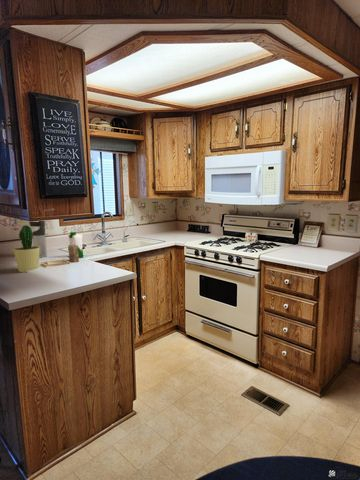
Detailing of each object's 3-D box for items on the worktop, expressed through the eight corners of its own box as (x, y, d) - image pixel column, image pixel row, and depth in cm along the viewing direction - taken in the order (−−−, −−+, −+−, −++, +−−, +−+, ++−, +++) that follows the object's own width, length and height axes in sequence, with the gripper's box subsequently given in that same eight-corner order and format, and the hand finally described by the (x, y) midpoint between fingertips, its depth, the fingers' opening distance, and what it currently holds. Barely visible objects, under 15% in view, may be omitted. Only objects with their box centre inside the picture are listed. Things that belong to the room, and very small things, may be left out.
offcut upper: (45, 264, 216) (45, 261, 216) (61, 261, 224) (61, 259, 223) (47, 265, 214) (47, 262, 214) (63, 262, 221) (63, 260, 221)
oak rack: (41, 266, 216) (40, 262, 216) (64, 262, 226) (64, 259, 226) (46, 269, 208) (45, 265, 207) (70, 265, 218) (70, 261, 217)
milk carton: (68, 258, 243) (66, 232, 241) (78, 256, 250) (77, 231, 247) (74, 259, 238) (73, 233, 235) (85, 257, 245) (83, 231, 242)
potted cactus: (16, 268, 209) (12, 223, 205) (42, 266, 215) (38, 222, 210) (13, 274, 195) (9, 225, 191) (40, 271, 200) (37, 224, 196)
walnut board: (74, 263, 222) (73, 246, 220) (69, 261, 229) (68, 245, 228) (78, 262, 224) (77, 246, 222) (73, 260, 231) (72, 244, 230)
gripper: (45, 189, 217) (47, 212, 219) (66, 189, 226) (67, 211, 228) (42, 189, 222) (43, 212, 225) (62, 189, 231) (63, 211, 234)
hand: (55, 212), depth 226 cm, fingers open, 8 cm apart
